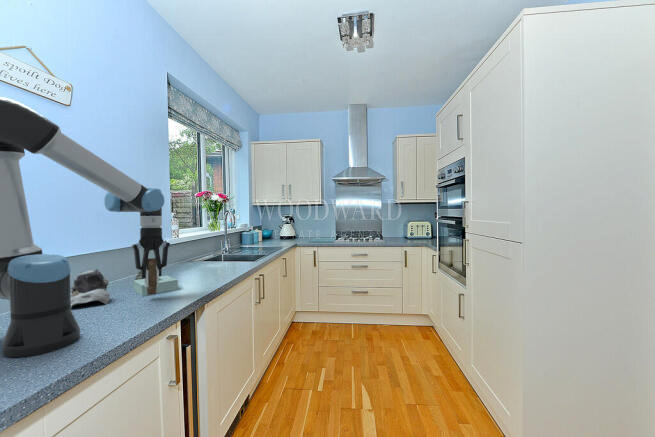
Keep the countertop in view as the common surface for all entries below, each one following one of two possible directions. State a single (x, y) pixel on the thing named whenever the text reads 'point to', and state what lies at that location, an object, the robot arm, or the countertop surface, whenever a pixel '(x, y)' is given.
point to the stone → (89, 288)
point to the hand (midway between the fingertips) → (151, 285)
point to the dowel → (151, 276)
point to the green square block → (164, 285)
